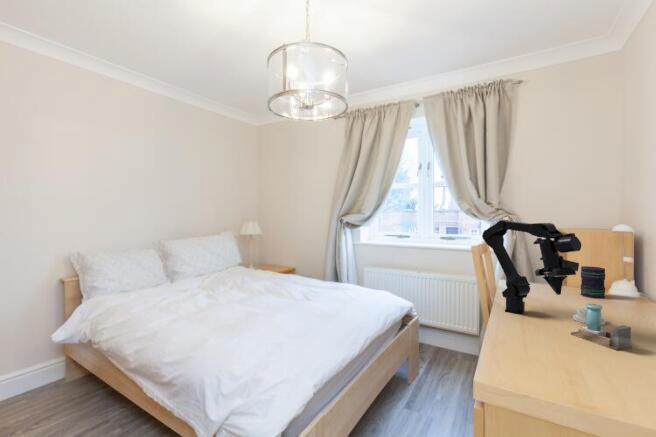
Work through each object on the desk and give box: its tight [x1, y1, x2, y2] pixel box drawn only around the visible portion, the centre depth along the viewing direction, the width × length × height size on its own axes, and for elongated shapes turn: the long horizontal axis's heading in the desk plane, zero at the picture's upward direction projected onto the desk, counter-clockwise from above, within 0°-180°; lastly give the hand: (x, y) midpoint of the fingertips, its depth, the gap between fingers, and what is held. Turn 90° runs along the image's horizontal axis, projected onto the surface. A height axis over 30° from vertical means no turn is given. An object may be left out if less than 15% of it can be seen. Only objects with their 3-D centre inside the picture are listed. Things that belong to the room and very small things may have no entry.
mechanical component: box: [572, 307, 607, 326], centre depth 125 cm, size 10×4×10 cm
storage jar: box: [580, 265, 606, 300], centre depth 162 cm, size 10×10×15 cm
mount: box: [570, 324, 633, 351], centre depth 105 cm, size 14×8×7 cm, turn 17°
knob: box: [581, 303, 607, 337], centre depth 107 cm, size 5×4×11 cm
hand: (558, 294), depth 119 cm, fingers closed
